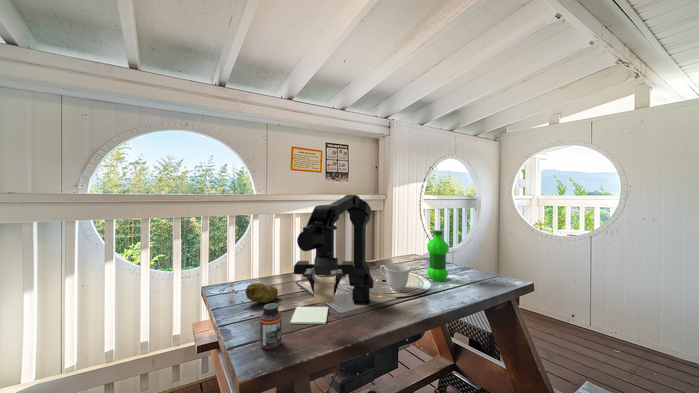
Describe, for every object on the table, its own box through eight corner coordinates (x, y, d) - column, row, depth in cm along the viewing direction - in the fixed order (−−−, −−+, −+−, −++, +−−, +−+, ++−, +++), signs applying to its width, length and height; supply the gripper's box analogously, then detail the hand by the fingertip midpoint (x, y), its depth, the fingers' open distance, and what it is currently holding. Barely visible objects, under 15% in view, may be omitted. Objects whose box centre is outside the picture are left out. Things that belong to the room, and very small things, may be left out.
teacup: (386, 281, 134) (386, 261, 134) (414, 287, 125) (414, 266, 125) (373, 288, 124) (373, 266, 124) (403, 295, 115) (404, 272, 115)
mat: (328, 308, 102) (328, 306, 102) (325, 324, 90) (325, 322, 90) (296, 308, 102) (296, 306, 102) (290, 323, 90) (290, 322, 90)
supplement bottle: (262, 338, 81) (262, 301, 81) (282, 338, 82) (283, 301, 81) (257, 350, 75) (257, 310, 75) (279, 349, 76) (279, 309, 75)
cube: (334, 295, 88) (334, 277, 88) (333, 303, 82) (333, 283, 82) (316, 295, 88) (316, 277, 88) (313, 303, 82) (314, 283, 82)
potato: (280, 302, 107) (280, 283, 107) (246, 308, 102) (246, 287, 102) (276, 295, 115) (276, 277, 115) (244, 300, 109) (244, 281, 109)
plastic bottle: (428, 282, 132) (429, 232, 132) (425, 276, 143) (426, 229, 142) (449, 284, 131) (450, 232, 130) (445, 277, 141) (446, 229, 141)
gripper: (289, 250, 77) (289, 304, 77) (355, 251, 77) (354, 305, 77) (297, 243, 88) (297, 290, 88) (354, 243, 88) (353, 290, 88)
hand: (324, 294), depth 85 cm, fingers closed on cube, 6 cm apart
